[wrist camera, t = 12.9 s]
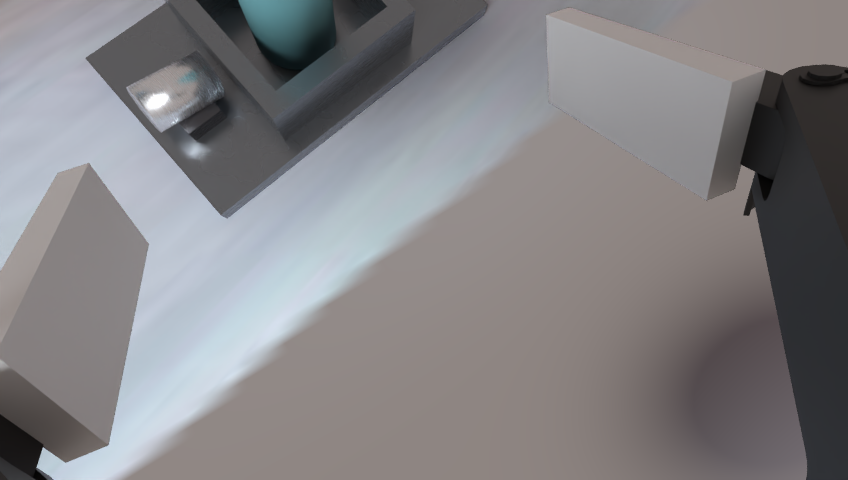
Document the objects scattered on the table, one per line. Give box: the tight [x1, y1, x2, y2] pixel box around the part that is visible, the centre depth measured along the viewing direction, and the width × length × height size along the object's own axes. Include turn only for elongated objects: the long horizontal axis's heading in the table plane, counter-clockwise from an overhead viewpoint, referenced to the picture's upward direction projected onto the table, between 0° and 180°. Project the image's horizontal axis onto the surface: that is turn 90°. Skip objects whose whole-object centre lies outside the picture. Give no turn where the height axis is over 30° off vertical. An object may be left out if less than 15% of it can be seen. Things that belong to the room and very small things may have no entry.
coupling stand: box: [86, 0, 487, 218], centre depth 25 cm, size 19×11×4 cm, turn 132°
